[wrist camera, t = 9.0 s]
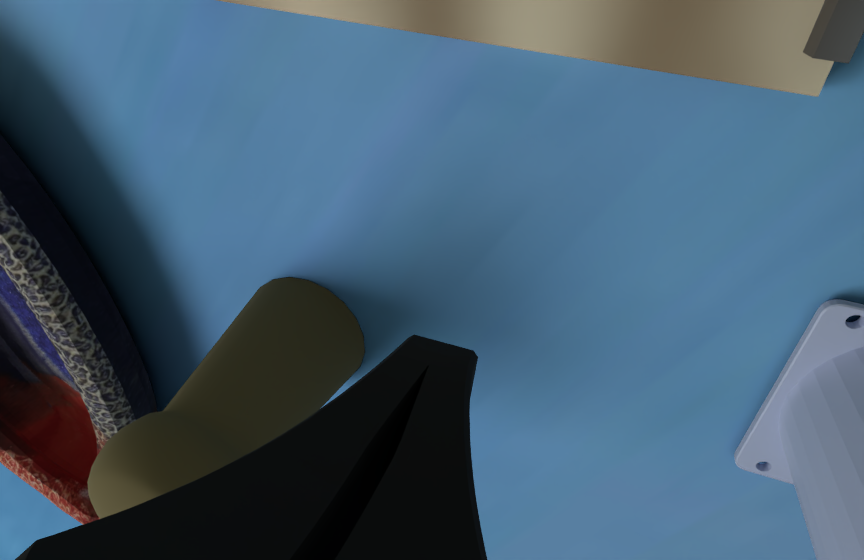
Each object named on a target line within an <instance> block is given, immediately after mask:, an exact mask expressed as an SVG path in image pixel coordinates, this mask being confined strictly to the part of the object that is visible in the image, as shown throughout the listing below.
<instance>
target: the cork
mask: <svg viewBox="0 0 864 560" xmlns="http://www.w3.org/2000/svg"><path fill="white" fill-rule="evenodd" d="M364 353H365V348H364V336H363V333H362V331H361V329H360V326H359V324H358V321H357V319H356V318H355V316H354V315H353V314H352V312H351V311H350V310H349V309H348V307H347V306H346V305H345V303H344V302H343V301H341V300H340V299H339V298H338V297H336V296H335V295H334V294H333V293H331V292H330V291H329V290H328V289H326V288H324V287H322V286H319V285H317V284H315V283H313V282H311V281H309V280H304V279H298V278H292V277H286V278H280V279H273V280H271V281H270V282H268V283H266V284H265V285H263V286H261V287H260V288H259V289H258V290H257V292H256V293H255V294H254V296H253V297H252V298H251V299H250V301H249V302H248V303H247V304H246V306H245V307H244V308H243V310H242V311H241V312H240V313H239V315H238V316H237V317H236V318H235V320H234V321H233V322H232V324H231V325H230V326H229V327H228V329H227V330H226V331H225V332H224V334H223V335H222V336H221V338H220V339H219V340H218V341H217V343H216V344H215V345H214V346H213V348H212V349H211V350H210V352H209V353H208V354H207V355H206V357H205V358H204V359H203V360H202V362H201V363H200V364H199V366H198V367H197V368H196V369H195V371H194V372H193V373H192V374H191V376H190V377H189V378H188V380H187V381H186V382H185V383H184V385H183V386H182V387H181V388H180V390H179V391H178V392H177V394H176V395H175V396H174V397H173V399H172V400H171V401H170V402H169V404H168V405H167V406H166V408H165V409H164V410H163V411H161V412H154V413H149V414H147V415H145V416H143V417H141V418H139V419H137V420H135V421H134V422H132V423H130V424H128V425H126V426H125V427H123V428H121V429H120V430H119V431H118V432H117V433H116V434H114V435H113V436H112V437H111V438H110V439H109V440H108V441H107V442H106V444H105V445H104V447H103V448H102V450H101V451H100V453H99V454H98V456H97V457H96V459H95V461H94V463H93V465H92V467H91V471H90V475H89V478H88V482H87V483H88V494H89V497H90V500H91V503H92V505H93V507H94V509H95V511H96V514H97V515H98V517H99V518H100V519H101V518H104V517H107V516H110V515H113V514H115V513H118V512H121V511H123V510H126V509H129V508H131V507H134V506H136V505H139V504H141V503H144V502H146V501H148V500H151V499H153V498H155V497H157V496H160V495H162V494H164V493H167V492H169V491H171V490H174V489H176V488H178V487H181V486H183V485H185V484H188V483H190V482H192V481H195V480H197V479H199V478H201V477H203V476H205V475H207V474H209V473H211V472H213V471H216V470H218V469H220V468H222V467H223V466H225V465H227V464H229V463H231V462H233V461H235V460H237V459H239V458H241V457H243V456H244V455H246V454H248V453H250V452H252V451H254V450H256V449H257V448H259V447H261V446H263V445H264V444H266V443H268V442H270V441H271V440H273V439H275V438H276V437H278V436H280V435H281V434H283V433H285V432H286V431H288V430H289V429H291V428H293V427H294V426H296V425H297V424H299V423H300V422H302V421H304V420H305V419H306V418H308V417H309V416H311V415H312V414H314V413H315V412H317V411H318V410H319V409H320V408H321V407H322V406H323V405H324V404H325V403H326V402H327V401H328V400H329V399H330V398H331V397H332V396H333V395H334V394H335V393H336V392H337V390H338V389H339V388H340V387H341V386H342V385H343V384H344V383H345V382H346V381H347V380H348V379H349V378H350V377H351V376H352V375H353V374H354V373H355V371H356V370H357V369H358V368H359V367H360V366H361V363H362V360H363V357H364Z"/></svg>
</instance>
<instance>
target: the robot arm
mask: <svg viewBox="0 0 864 560" xmlns="http://www.w3.org/2000/svg"><path fill="white" fill-rule="evenodd" d="M853 315H860V318H859V319H858V320H857V321H854V322H846V319H847V318H848V317H850V316H853ZM477 359H478V356H477V355H476V354H475V352H474V351H473V350H469V349H465V348H462V347H458V346H454V345H451V344H447V343H443V342H439V341H436V340H432V339H428V338H425V337H421V336H417V335H413V336H411V337H409V338H408V339H406V340H405V341H404V342H403V343H402V344H401V345H400V346H399V347H398V348H397V349H396V350H394V351H393V352H392V353H391V354H390V355H389V356H388V357H386V358H385V359H384V360H383V361H382V362H381V363H379V364H378V365H377V366H376V367H375V368H374V369H372V370H371V371H370V372H369V373H367V374H366V375H365V376H364V377H362V378H361V379H360V380H359V381H357V382H356V383H355V384H353V385H352V386H351V387H350V388H348V389H347V390H346V391H345V392H343V393H342V394H341V395H339V396H338V397H337V398H335V399H334V400H332V401H331V402H329V403H328V404H327V405H325V406H324V407H322V408H321V409H319V410H318V411H317V412H315V413H314V414H312V415H311V416H309V417H308V418H306V419H305V420H304V421H302V422H300V423H299V424H297V425H296V426H294V427H293V428H291V429H289V430H288V431H286V432H285V433H283V434H281V435H280V436H278V437H276V438H275V439H273V440H271V441H270V442H268V443H266V444H264V445H263V446H261V447H259V448H257V449H256V450H254V451H252V452H250V453H248V454H246V455H244V456H243V457H241V458H239V459H237V460H235V461H233V462H231V463H229V464H227V465H225V466H223V467H222V468H220V469H218V470H216V471H213V472H211V473H209V474H207V475H205V476H203V477H201V478H199V479H197V480H195V481H192V482H190V483H188V484H185V485H183V486H181V487H178V488H176V489H174V490H171V491H169V492H167V493H164V494H162V495H160V496H157V497H155V498H153V499H151V500H148V501H146V502H144V503H141V504H139V505H136V506H134V507H131V508H129V509H126V510H123V511H121V512H118V513H115V514H113V515H110V516H107V517H104V518H101V519H98V520H95V521H92V522H89V523H87V524H84V525H81V526H78V527H75V528H72V529H69V530H66V531H63V532H61V533H58V534H55V535H52V536H48V537H45V538H42V539H39V540H36V541H35V542H34V543H33V544H32V545H31V546H30V547H29V548H27V549H26V550H25V551H24V552H23V553H22V554H21V555H20V556H19V557H17V558H16V559H15V560H487V557H486V552H485V547H484V542H483V537H482V532H481V527H480V521H479V515H478V509H477V503H476V495H475V488H474V480H473V470H472V460H471V447H470V417H469V409H470V396H471V391H472V386H473V380H474V375H475V370H476V364H477ZM734 458H735V462H736V465H737V466H738V467H739V468H741V469H743V470H746V471H750V472H753V473H756V474H760V475H763V476H767V477H770V478H773V479H777V480H780V481H784V482H787V483H790V484H794V486H795V489H796V492H797V496H798V499H799V502H800V506H801V509H802V512H803V516H804V519H805V522H806V526H807V529H808V532H809V535H810V539H811V542H812V545H813V549H814V552H815V555H816V559H817V560H864V305H863V304H859V303H855V302H850V301H846V300H839V299H834V300H829V301H827V302H825V303H823V304H822V305H821V306H820V307H819V308H818V310H817V311H816V313H815V315H814V316H813V318H812V320H811V322H810V323H809V325H808V327H807V328H806V330H805V332H804V334H803V335H802V337H801V339H800V341H799V342H798V344H797V346H796V347H795V349H794V351H793V353H792V354H791V356H790V358H789V360H788V361H787V363H786V365H785V366H784V368H783V370H782V372H781V373H780V375H779V377H778V379H777V380H776V382H775V384H774V385H773V387H772V389H771V391H770V392H769V394H768V396H767V398H766V399H765V401H764V403H763V404H762V406H761V408H760V410H759V411H758V413H757V415H756V417H755V418H754V420H753V422H752V423H751V425H750V427H749V429H748V430H747V432H746V434H745V436H744V437H743V439H742V441H741V442H740V444H739V446H738V448H737V449H736V451H735V454H734ZM762 461H763V462H767V463H764V464H760V463H758V462H762Z"/></svg>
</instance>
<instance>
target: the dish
mask: <svg viewBox="0 0 864 560" xmlns="http://www.w3.org/2000/svg"><path fill="white" fill-rule="evenodd" d="M154 412H157V407H156V401H155V396H154V393H153V390H152V387H151V384H150V380H149V377H148V374H147V372H146V370H145V367H144V365H143V362H142V360H141V358H140V355H139V353H138V350H137V348H136V346H135V344H134V342H133V340H132V338H131V335H130V333H129V331H128V329H127V327H126V325H125V323H124V321H123V319H122V317H121V315H120V313H119V311H118V309H117V307H116V305H115V304H114V302H113V300H112V298H111V296H110V294H109V292H108V290H107V289H106V287H105V285H104V283H103V282H102V280H101V278H100V276H99V275H98V273H97V271H96V269H95V268H94V266H93V264H92V262H91V261H90V259H89V258H88V256H87V254H86V253H85V251H84V249H83V248H82V246H81V245H80V243H79V241H78V240H77V238H76V237H75V235H74V233H73V232H72V230H71V229H70V227H69V226H68V224H67V223H66V221H65V220H64V218H63V217H62V215H61V214H60V213H59V211H58V210H57V208H56V207H55V205H54V204H53V202H52V201H51V199H50V198H49V196H48V195H47V194H46V192H45V191H44V190H43V188H42V187H41V186H40V184H39V183H38V181H37V180H36V179H35V177H34V176H33V175H32V173H31V172H30V171H29V169H28V168H27V167H26V165H25V164H24V163H23V161H22V160H21V159H20V158H19V157H18V155H17V154H16V153H15V152H14V150H13V149H12V148H11V147H10V146H9V144H8V143H7V142H6V141H5V139H4V138H3V137H2V136H1V134H0V462H1V463H2V464H3V465H4V466H6V467H7V468H8V469H9V470H10V471H12V472H13V473H14V474H16V475H17V476H18V477H20V478H21V479H22V480H24V481H25V482H26V483H28V484H29V485H30V486H32V487H33V488H35V489H36V490H37V491H39V492H40V493H41V494H43V495H44V496H45V497H46V498H48V499H49V500H50V501H51V502H52V503H54V504H55V505H56V506H57V507H59V508H60V509H61V510H63V511H64V512H65V513H67V514H68V515H70V516H71V517H73V518H74V519H76V520H77V521H79V522H80V523H82V524H83V525H84V524H87V523H89V522H92V521H95V520H98V519H100V518H99V517H98V515H97V514H96V511H95V509H94V507H93V505H92V503H91V500H90V497H89V494H88V483H87V482H88V478H89V475H90V471H91V467H92V465H93V463H94V461H95V459H96V457H97V456H98V454H99V453H100V451H101V450H102V448H103V447H104V445H105V444H106V442H107V441H108V440H109V439H110V438H111V437H112V436H113V435H114V434H116V433H117V432H118V431H119V430H120V429H121V428H123V427H125V426H126V425H128V424H130V423H132V422H134V421H135V420H137V419H139V418H141V417H143V416H145V415H147V414H149V413H154Z"/></svg>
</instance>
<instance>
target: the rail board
mask: <svg viewBox="0 0 864 560" xmlns="http://www.w3.org/2000/svg"><path fill="white" fill-rule="evenodd" d="M218 1H224V2H230V3H236V4H243V5H249V6H255V7H261V8H268V9H274V10H280V11H286V12H293V13H299V14H305V15H311V16H318V17H324V18H330V19H336V20H343V21H349V22H355V23H361V24H367V25H374V26H380V27H386V28H392V29H399V30H405V31H411V32H417V33H424V34H430V35H436V36H442V37H449V38H455V39H461V40H467V41H474V42H480V43H486V44H492V45H499V46H505V47H511V48H517V49H524V50H530V51H536V52H542V53H548V54H555V55H561V56H567V57H573V58H580V59H586V60H592V61H598V62H605V63H611V64H617V65H623V66H630V67H636V68H642V69H648V70H655V71H661V72H667V73H673V74H680V75H686V76H692V77H698V78H704V79H711V80H717V81H723V82H729V83H736V84H742V85H748V86H754V87H761V88H767V89H773V90H779V91H786V92H792V93H798V94H804V95H811V96H817V97H818V96H819V93H820V91H821V89H822V87H823V85H824V83H825V81H826V78H827V76H828V74H829V72H830V70H831V68H832V65H833V63H834V61H835V62H842V63H849V62H850V60H851V58H852V56H853V53H854V51H855V49H856V47H857V45H858V43H859V41H860V39H861V37H862V35H863V33H864V0H218Z"/></svg>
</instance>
